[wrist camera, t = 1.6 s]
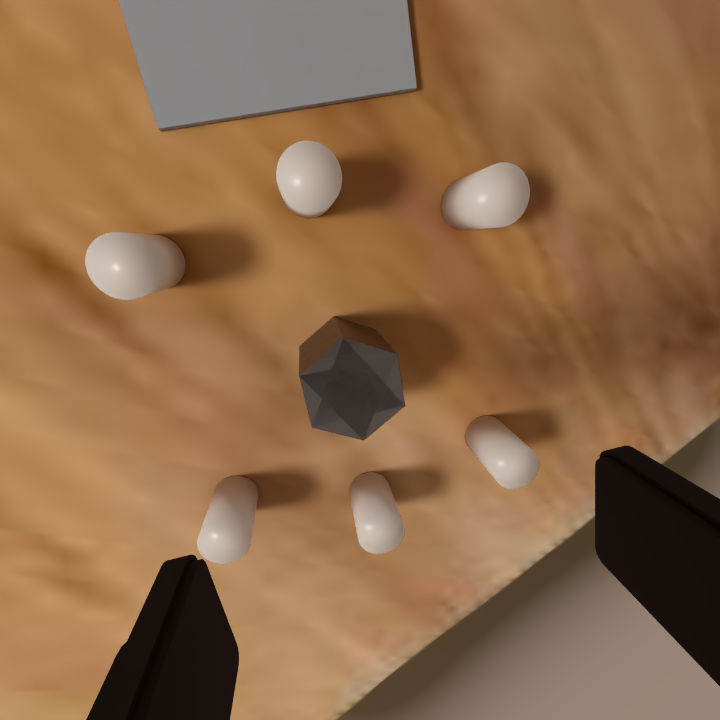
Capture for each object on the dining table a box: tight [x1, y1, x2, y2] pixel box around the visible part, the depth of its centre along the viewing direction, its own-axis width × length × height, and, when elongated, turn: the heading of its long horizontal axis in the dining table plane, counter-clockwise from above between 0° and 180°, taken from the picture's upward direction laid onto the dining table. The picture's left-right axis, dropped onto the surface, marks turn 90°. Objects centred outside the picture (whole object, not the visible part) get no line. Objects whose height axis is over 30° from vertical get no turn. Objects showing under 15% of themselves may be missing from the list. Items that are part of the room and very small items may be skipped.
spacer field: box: [85, 141, 539, 564], centre depth 20 cm, size 21×19×4 cm
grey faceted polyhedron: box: [299, 316, 405, 440], centre depth 19 cm, size 5×4×5 cm
